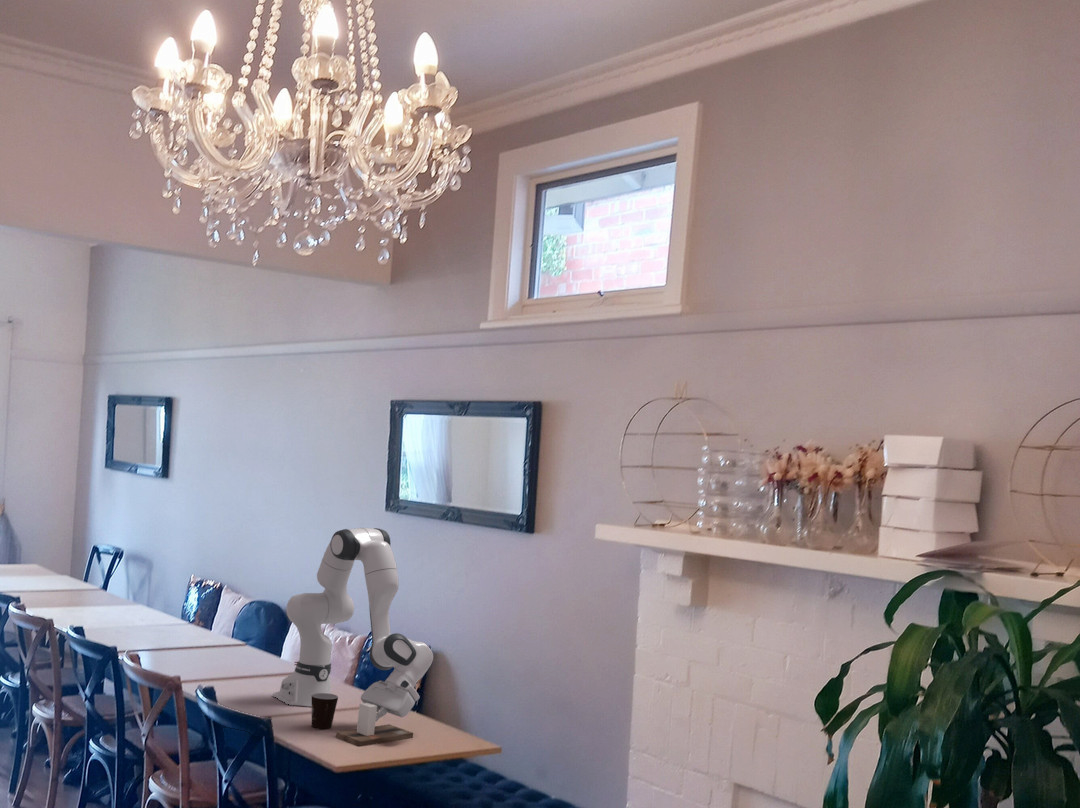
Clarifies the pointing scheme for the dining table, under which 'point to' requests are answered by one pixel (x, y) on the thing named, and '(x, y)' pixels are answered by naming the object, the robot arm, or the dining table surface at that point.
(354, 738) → the switch board
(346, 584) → the robot arm
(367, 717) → the switch tab
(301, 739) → the dining table surface
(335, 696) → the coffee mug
